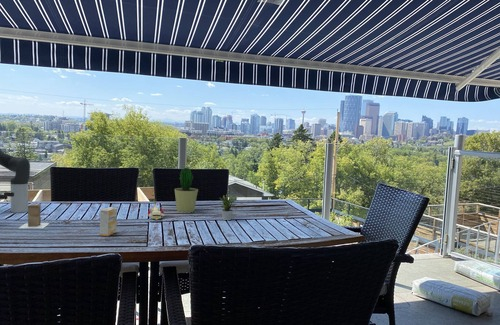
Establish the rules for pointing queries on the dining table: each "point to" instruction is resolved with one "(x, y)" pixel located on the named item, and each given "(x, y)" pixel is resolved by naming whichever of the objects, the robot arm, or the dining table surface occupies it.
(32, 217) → the walnut block
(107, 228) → the supplement box
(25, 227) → the card
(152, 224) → the dining table surface
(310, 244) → the dining table surface
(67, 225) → the dining table surface
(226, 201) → the house plant
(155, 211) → the cat figure
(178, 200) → the potted cactus
